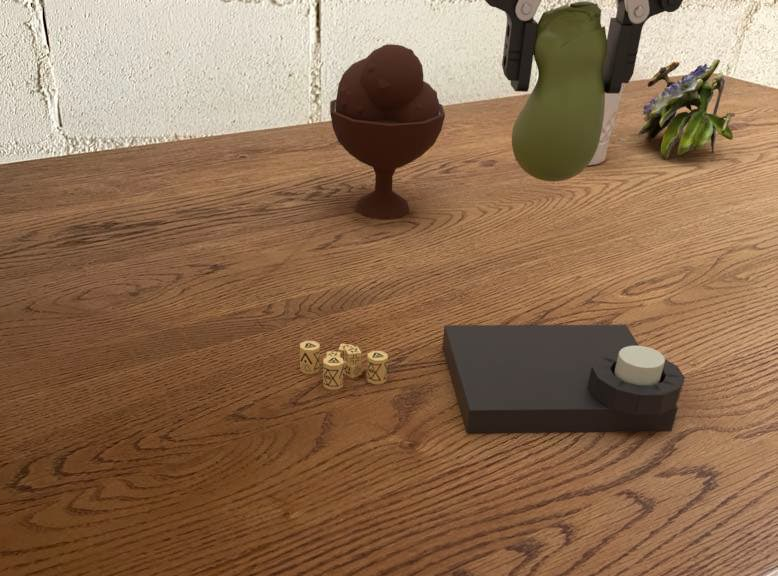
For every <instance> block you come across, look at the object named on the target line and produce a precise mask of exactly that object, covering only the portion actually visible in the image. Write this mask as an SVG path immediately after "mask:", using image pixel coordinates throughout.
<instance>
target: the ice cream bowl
mask: <svg viewBox="0 0 778 576" xmlns="http://www.w3.org/2000/svg"><path fill="white" fill-rule="evenodd" d="M329 102H330V103H329V114H330V119H331V125H332V129H333V132H334V134H335V137H336V139H337V142H338V143H339V144H340V145H341V146H342V147H343V148H344V150H345V151H346V153H348V154H349V155H350V156H352V157H353V158H354V159H356V160H357V161H359V162H360V163H362V164H364V165H366V166H368V167H372V168H373V171H374V175H375V180H374V181H375V182H374V190H372V191H371V192H368V193H367V194H365V195H364V196H362V197H360V198H359V199H357V201H356V205H355V207H356V209H355V210H356V211H355V212H357V213H359V214H361V215H363V216H365V217H367V218H372V219H373V218H374V219H381V220H390V219H399V218H402V217H404V216H406V215H408V214H410V213H411V211H410V206H409V201H408V200H407V199H405V198H404V197H402V196H401V195H399V194H398V193H396V192H394V191H393V179H394V178H393V176H394V175H395V172H396V169H399V168H402V167H405V166H407V165H409V164H411V163H412V162H414V161H416V160H417V159H419V158H420V157H422V156H424V154H425V153H426V152H427V151H428V150H430V149H431V148H432V147H433V146H434V145H435V143H436V142H437V140H438V138H439V135H440V134H441V132H442V129H443V126H444V125H443V124H444V120H445V118H446V113H445V110H444V107H443V104H441V103H440V101H439V98H438V92H437V91H436V90H435V89H434V88H433V87H432V86H431V85H430V83H428V82H426V81H424V69H423V64H422V62H421V61H420V59H419V57H418V56H417V54H415V52H414V51H413V49H411V48H409V47H406V46H404V45H400V44H392V43H391V44H389V43H386V44H383V45H382V46H380V47H378V48H376V49H374V50H373V51H371V52H370V53H369V54H368V55H367V56H366V57H365V58H362V59H361V60H358V61H356V62H354V63H352V64H351V65H350V66H349V67H348V68H347V69H346V70H344V72H343V74H342V76H341V79H340V81H339V82H338V86H337V92H336V98H335V99H333V100H330V101H329Z"/></svg>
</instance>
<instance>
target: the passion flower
mask: <svg viewBox="0 0 778 576" xmlns="http://www.w3.org/2000/svg"><path fill="white" fill-rule="evenodd" d="M720 62H721V60H720V59H714V60H713V62H712V63H711V65H710V66H709V67H708V66H707V63H705V64H704V65H702V64H700V65H698V66H697V67H696V69H694V70H692V71H691V72H689V73H688V74H685V75H683V76H682V78H681V79H679V78H678V79H677V81H672V80H671V79H670V77H669V74H670V73H672V72H673V71H674V70H676V69H677V68H678V67H680V61H677V62H676V61H671V63H670V64H669V65H667V66H663V67H660V69H659V70H658V72H656V73H655V74H654V75H653V76H652V77H651V78H650V80H648V82H647V88H650V87H652V86H655V84H657V83H658V82H660V81H665V83H666V87H664V89H663V90H662V92H661V93H660V94H658V95H656V97H655V98H652V99H651V100H650V101H649V102H648V103H647V104H645V105H644V106H643V107H642V108H643V110H642V111H641V113H642V114H641V115H640V116H644V121H645V124H643V126H641V128H640V130H638V134H639V135H644V138H645V139H646V140H648V141H651V140H653V139H655V138H656V137H657V136H658V135H659V133H660V132H661V131H663V130H664V129H665V131H664V133H663V136H662V140H661V143H660V154H661V156H663V157H664V161H667V160H668V159H669V155H670V152H671V150H672V149H673V148H674V146H675V145H676V143H677V142H678V141H679V143H678V148H677V155H678V156H681V155H683V154H685V153H687V152H689V151H690V150H693V151H698V150H699V149H701V148H702V147H704V146H705V145H706V144H707V143H709V141H710V147H711V153H712V154H714V150H715V142H716V137H717V133H718V134H719V135H720V136H722V137H723V138H726V139H727V140H729V141H732V140H733V137H734V136H733V131H732V130H731V128H730V125H729V123H730V121H731V119H732V118H733V117H735V116H736V115H735V113H734V112H732V113H731V112H726V114H725V115H724V116H719V115H718V109H719V105H720V101H721V97H722V95H723V91H724V89H725V88H724V87H725V83H726V80H725V79H724V77H723V76H724V73H723V72H722V71H720V72H719V73H718V74H717V75H716V76H714V77H713V78H714V79H713V80H712V82H708V80H709V79H710V78H711V77H712V75H713V74H714V73H715V71H716V70H717V68H718V66H719V65H720ZM715 90H717V91H718V95H717V97H716V101H715V104H714V108H713V112H712V113H708V112H707V110H708V106H709V104H710V102H711V101H712V99H713V97H714V91H715ZM692 106H694V107H696V108H692ZM684 107H685V108H686V109H687V110H689V111H681V112H679V113H677V111H679V110H681V109H682V108H684ZM684 128H685V130H684ZM683 130H684V132H683ZM682 132H683V133H682ZM681 133H682V134H681ZM680 135H681V136H680ZM679 138H680V140H679Z"/></svg>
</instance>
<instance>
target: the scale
mask: <svg viewBox="0 0 778 576" xmlns="http://www.w3.org/2000/svg"><path fill="white" fill-rule="evenodd" d="M627 346H640V345H639V343H638V341H637V340H636V338H635V337H634V335H633V334H632V332H631V330H630V329H629V327H628V326H627V324H455V325H454V324H451V325H450V324H446V325H444V326H443V336H442V352H443V355H444V358H445V361H446V366H447V369H448V373H449V376H450V379H451V383H452V386H453V390H454V394H455V397H456V400H457V403H458V407H459V411H460V414H461V418H462V422H463V424H464V428H465V431H466V434H467V435H473V434H474V435H482V434H486V435H488V434H557V433H558V434H562V433H564V434H565V433H569V434H571V433H632V432H634V433H635V432H638V433H639V432H641V433H642V432H644V433H645V432H647V433H648V432H672V430H673V427H674V423H675V419H676V416H677V412H678V409H679V407H678V405H677V404H678V401H679V399H680V396H681V393H682V390H683V385H684V382H685V378H686V377H685V375H684V374H683V372H682V370H681V369H680V367H678V365H676V364H675V363H673V362H672V361H669V360H668V359H666V358H665V363H664V367H663V370H662V374H661V378H660V381H659V383H658V384H656V385H640V386H639V385H635V384H631V383H627V382H624V381H623V380H621V379H619V378H618V377H616V376H615V374H614V371H615V367H616V363H617V358H618V354H619V351H620V350H621V349H622V348H624V347H627Z"/></svg>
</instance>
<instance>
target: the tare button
mask: <svg viewBox="0 0 778 576" xmlns="http://www.w3.org/2000/svg"><path fill="white" fill-rule="evenodd" d="M665 359H666V358H665V356H664V355H663V354H662V353H661V352H660V351H658V350H657V349H654V348H653V347H652V348H651V347H648V346H644V345H639V346H627V347H624V348H622V349H621V350H620V351H619V354H618V358H617V363H616V367H615V371H614V374H615V376H616V377H618V378H619V379H621V380H623V381H624V382H627V383H631V384H635V385H639V386H640V385H656V384H658V383H659V381H660V378H661V374H662V370H663V367H664V363H665Z"/></svg>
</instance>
